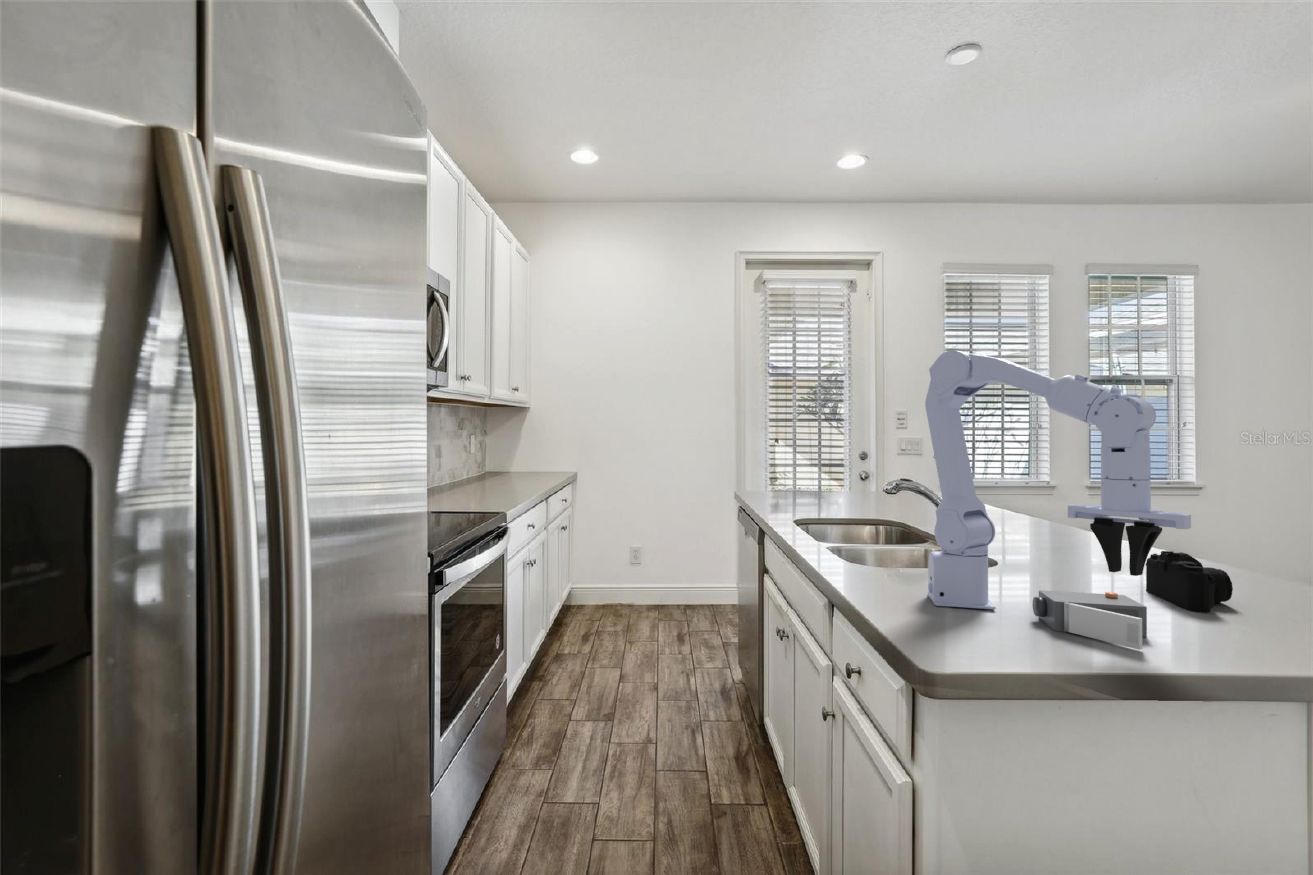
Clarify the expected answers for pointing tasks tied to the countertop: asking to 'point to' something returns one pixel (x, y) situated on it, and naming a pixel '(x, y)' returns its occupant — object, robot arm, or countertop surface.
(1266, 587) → the countertop surface
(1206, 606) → the film camera
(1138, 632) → the side door
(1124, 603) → the grey box
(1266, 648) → the countertop surface
